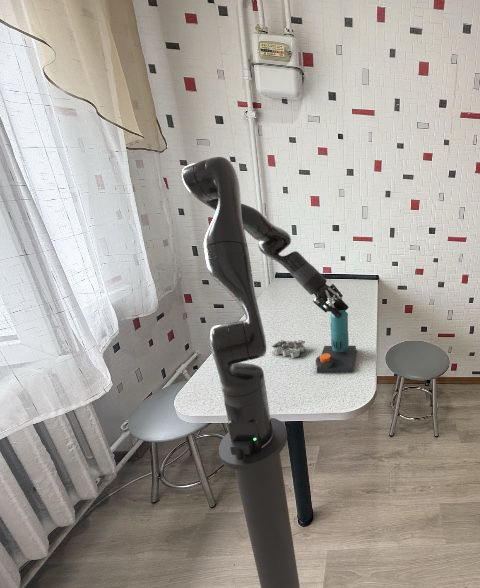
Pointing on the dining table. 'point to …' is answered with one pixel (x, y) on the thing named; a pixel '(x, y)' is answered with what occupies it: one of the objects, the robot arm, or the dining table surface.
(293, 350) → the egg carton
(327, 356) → the button
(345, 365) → the scale
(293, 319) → the dining table surface
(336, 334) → the beverage bottle
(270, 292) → the dining table surface
